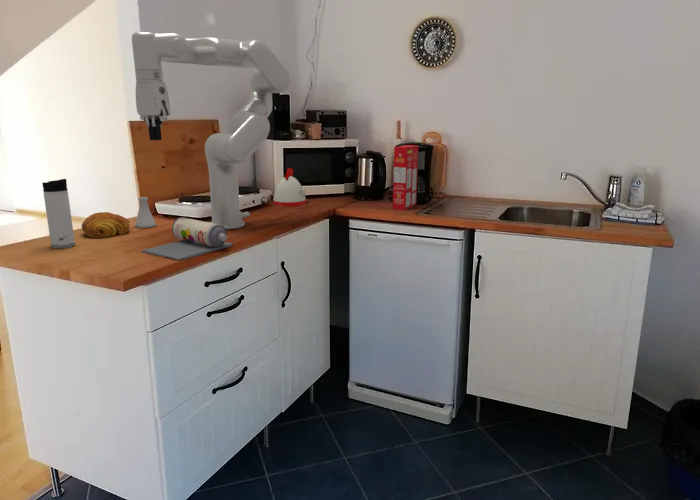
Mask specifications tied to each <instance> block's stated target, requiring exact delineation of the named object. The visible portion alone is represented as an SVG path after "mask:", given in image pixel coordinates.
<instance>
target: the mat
mask: <svg viewBox="0 0 700 500" xmlns="http://www.w3.org/2000/svg"><path fill="white" fill-rule="evenodd" d="M230 247H231V248H232V247H234V244H233V243H232V242H226V241H225V242H224V243H223V245H221V246H220V247H211V246H207V245H202V244H198V243H194V242H189V241H185V240H181V239H180V240H179V241H173V242H169V243H166V244H160V245H158V246H154V247H149V248H145V249H142V250H141V252H142V253H144V254H148V255H152V254H153V256H156V255H157V257H160V256H163V257H162V258H164V257H168V258H172V259H171V260H173V259H177V260H180V261H183V260H182V259H184V260H188V259H191V258H194V257H197V256H201V255H205V254H209V253H213V252H217V251H219V250H223V249H227V248H230ZM168 258H167V259H168ZM187 258H188V259H187ZM177 260H176V261H177Z"/></svg>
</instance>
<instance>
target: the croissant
mask: <svg viewBox="0 0 700 500" xmlns="http://www.w3.org/2000/svg"><path fill="white" fill-rule="evenodd" d="M81 229H82V231H83V233H84V234H85V235H86V236H87V237H90V238H97V239H104V238H107V237H108V238H109V237H115V236H123V235H124V234H127V233H128V231H129V230H130V220H129V219H127V218H126V217H125V216H122V215H120V214H117V213H116V214H115V213H113V212H109V211H104V212H103V211H102V212H95V213H92V214H90V215H88V217H86V218H85V219H84V220H83V222H82V223H81Z"/></svg>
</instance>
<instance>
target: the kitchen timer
mask: <svg viewBox="0 0 700 500" xmlns="http://www.w3.org/2000/svg"><path fill="white" fill-rule="evenodd" d="M286 170H287V171H286V172H285V174H284V177H283V178H281V179H280V181H279V182H278V184H277V185H276V187H274V190H273V199H272V200H273V205H274V206H279V207H297V206H303V205H306V204H307V200H306V199H307V198H306V191H305V187H304V186H302V184H301V183H300V181H298V179H297V178H296V177H294V170H293V168H289V167H288V168H287V169H286Z"/></svg>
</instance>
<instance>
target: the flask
mask: <svg viewBox="0 0 700 500" xmlns="http://www.w3.org/2000/svg"><path fill="white" fill-rule="evenodd" d="M137 199H138V201H139V202H138V203H139V205H138V211H137V214H136V215H137V216H136V218H135V223H134V227H135V228H140V229H144V228H145V229H146V228H153V227H157V225H158V224H157V223H156V220H155V218H154V216H153V214H152V213H151V210H150V207H149V204H148V200H149V197H146V196H144V197H138V198H137Z"/></svg>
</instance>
